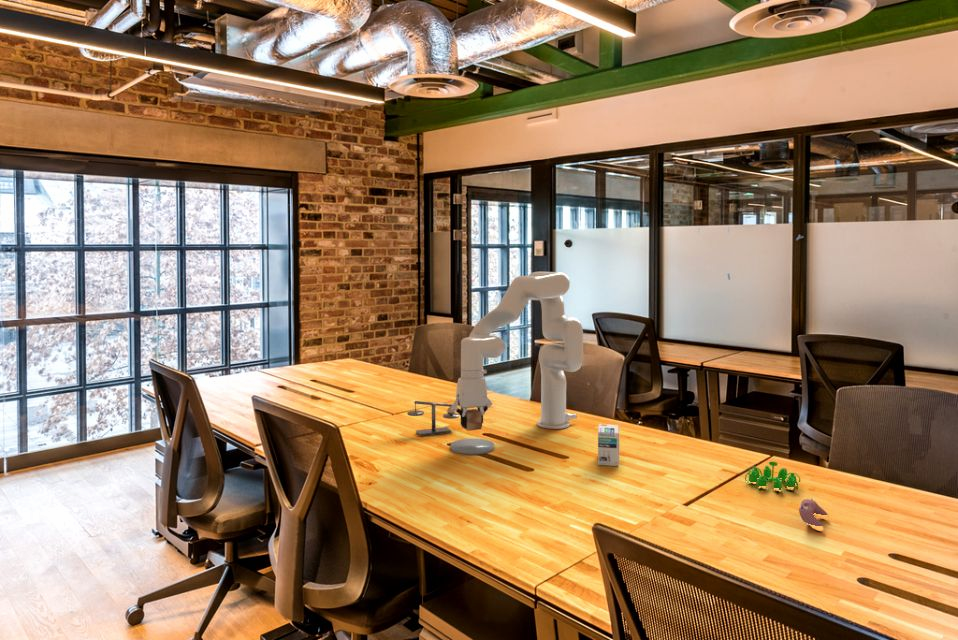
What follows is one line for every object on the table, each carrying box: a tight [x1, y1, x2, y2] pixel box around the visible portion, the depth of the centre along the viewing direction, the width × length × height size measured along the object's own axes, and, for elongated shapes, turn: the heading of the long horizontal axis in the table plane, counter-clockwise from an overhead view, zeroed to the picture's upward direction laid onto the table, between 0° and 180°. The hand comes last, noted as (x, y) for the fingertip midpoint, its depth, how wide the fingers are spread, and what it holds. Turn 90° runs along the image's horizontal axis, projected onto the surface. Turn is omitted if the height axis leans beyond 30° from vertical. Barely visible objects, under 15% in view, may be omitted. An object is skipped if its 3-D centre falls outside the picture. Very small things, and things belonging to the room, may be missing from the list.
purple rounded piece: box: [798, 498, 829, 526], centre depth 167 cm, size 10×5×7 cm, turn 146°
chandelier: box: [744, 461, 801, 490], centre depth 194 cm, size 15×15×7 cm
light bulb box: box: [597, 423, 620, 467], centre depth 216 cm, size 11×7×11 cm, turn 169°
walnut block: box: [463, 408, 482, 432], centre depth 229 cm, size 5×5×6 cm
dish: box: [450, 437, 495, 456], centre depth 230 cm, size 15×15×1 cm
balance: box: [406, 400, 460, 437], centre depth 249 cm, size 20×6×13 cm, turn 113°
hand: (471, 426), depth 229 cm, fingers closed on walnut block, 5 cm apart
